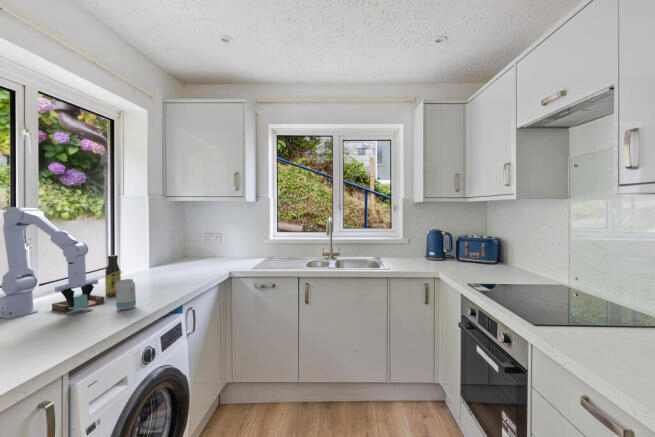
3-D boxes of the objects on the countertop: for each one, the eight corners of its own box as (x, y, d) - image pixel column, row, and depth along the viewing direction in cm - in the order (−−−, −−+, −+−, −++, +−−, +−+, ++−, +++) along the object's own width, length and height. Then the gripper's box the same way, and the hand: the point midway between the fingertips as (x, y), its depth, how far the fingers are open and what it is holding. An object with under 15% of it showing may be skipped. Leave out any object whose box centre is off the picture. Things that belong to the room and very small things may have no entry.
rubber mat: (73, 315, 123) (73, 314, 123) (64, 313, 126) (64, 312, 126) (93, 310, 129) (93, 309, 129) (83, 308, 132) (83, 307, 132)
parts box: (64, 313, 126) (64, 306, 126) (52, 310, 131) (51, 303, 131) (104, 302, 140) (104, 296, 140) (91, 300, 144) (91, 294, 144)
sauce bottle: (113, 297, 149) (111, 256, 148) (102, 296, 150) (100, 256, 149) (124, 293, 155) (122, 254, 155) (114, 293, 156) (112, 254, 156)
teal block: (75, 309, 124) (74, 297, 124) (69, 308, 126) (68, 296, 126) (87, 306, 129) (87, 294, 128) (81, 305, 130) (81, 293, 130)
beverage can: (119, 307, 133) (117, 279, 132) (137, 305, 135) (136, 278, 135) (114, 312, 126) (113, 283, 126) (133, 309, 129) (132, 281, 128)
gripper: (60, 276, 119) (62, 311, 119) (101, 269, 132) (103, 301, 132) (51, 275, 122) (53, 309, 122) (92, 268, 135) (93, 299, 135)
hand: (78, 305), depth 127 cm, fingers closed on teal block, 4 cm apart
